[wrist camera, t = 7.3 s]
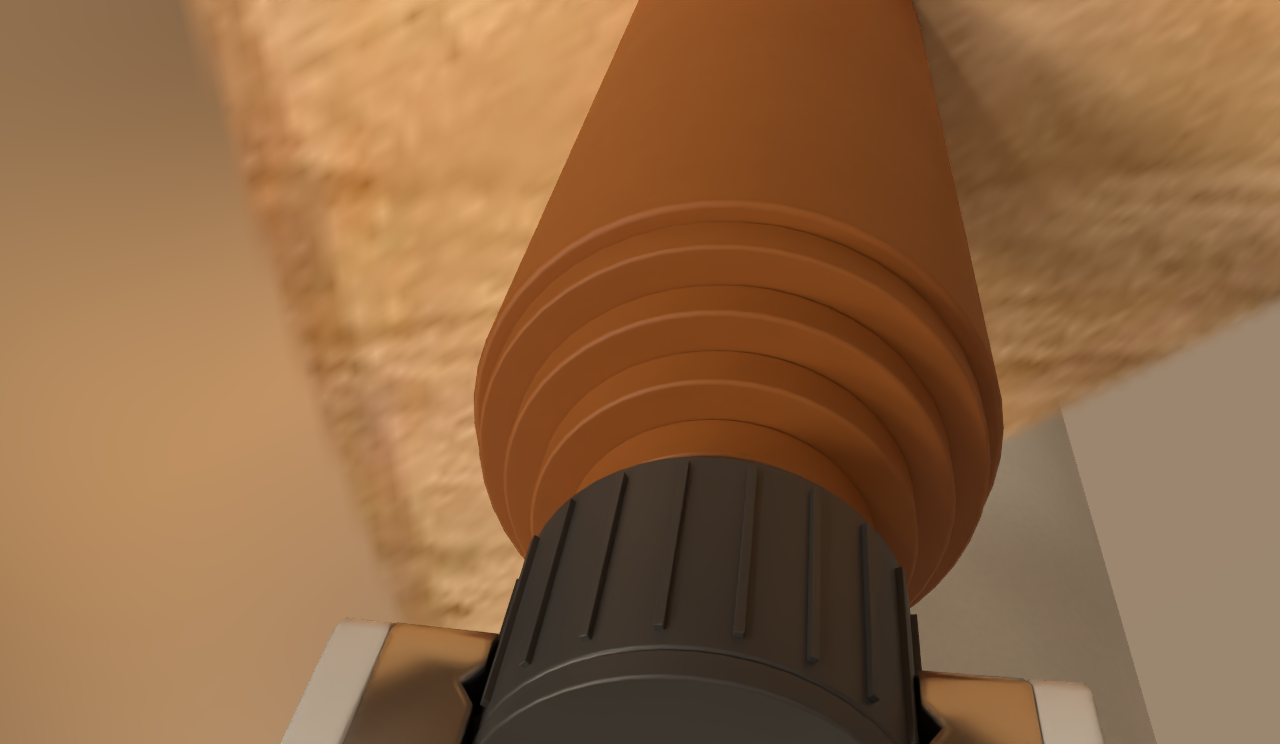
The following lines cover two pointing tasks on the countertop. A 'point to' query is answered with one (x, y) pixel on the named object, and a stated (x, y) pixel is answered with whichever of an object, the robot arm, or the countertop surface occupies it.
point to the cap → (705, 617)
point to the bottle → (754, 280)
